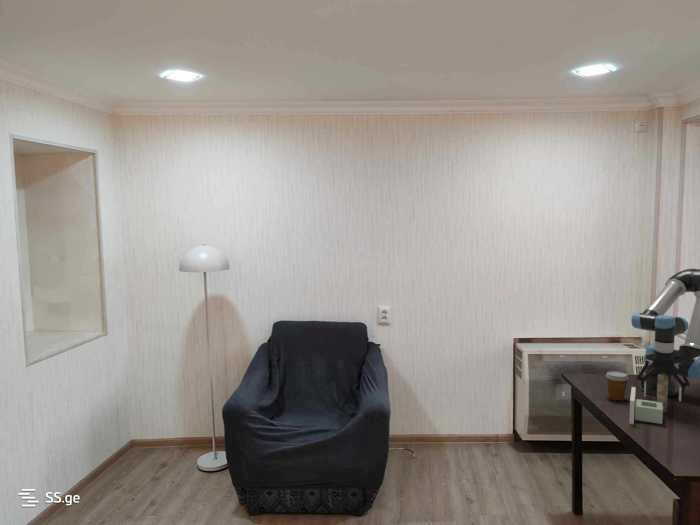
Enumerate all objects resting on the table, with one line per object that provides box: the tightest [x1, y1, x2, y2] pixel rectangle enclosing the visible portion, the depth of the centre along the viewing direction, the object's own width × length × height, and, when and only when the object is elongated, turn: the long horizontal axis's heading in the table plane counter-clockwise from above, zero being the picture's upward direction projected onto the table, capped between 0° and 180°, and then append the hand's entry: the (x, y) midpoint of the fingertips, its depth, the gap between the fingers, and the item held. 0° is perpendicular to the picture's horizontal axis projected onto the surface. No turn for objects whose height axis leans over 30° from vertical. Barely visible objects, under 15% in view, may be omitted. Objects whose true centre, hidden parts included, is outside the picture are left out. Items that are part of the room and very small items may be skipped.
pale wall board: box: [628, 386, 637, 425], centre depth 227 cm, size 2×20×10 cm, turn 150°
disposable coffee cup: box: [605, 370, 629, 401], centre depth 249 cm, size 10×10×12 cm
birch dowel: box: [656, 374, 669, 413], centre depth 232 cm, size 4×4×16 cm
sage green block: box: [634, 398, 664, 425], centre depth 224 cm, size 10×10×6 cm
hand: (662, 398), depth 232 cm, fingers open, 13 cm apart
